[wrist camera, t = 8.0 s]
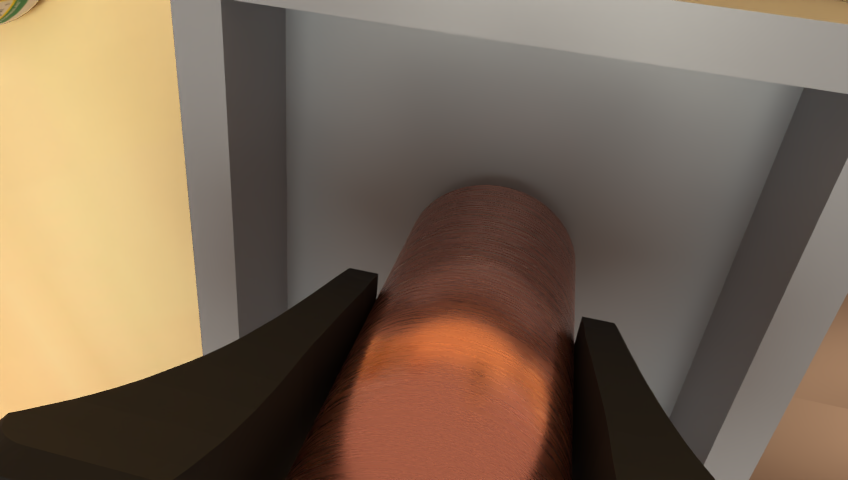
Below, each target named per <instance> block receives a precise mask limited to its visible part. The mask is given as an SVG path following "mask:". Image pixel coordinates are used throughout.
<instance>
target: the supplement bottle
mask: <svg viewBox="0 0 848 480" xmlns="http://www.w3.org/2000/svg"><path fill="white" fill-rule="evenodd" d="M38 1H39V0H0V25H1V24H4V23H8V22H10V21H12V20H15V19H17V18H19V17H20V16H22V15H24V14H25V13H27V12H28V11H29V10H30V9H31V8H32V7H33V6H35V5H36V4H37V2H38Z"/></svg>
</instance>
